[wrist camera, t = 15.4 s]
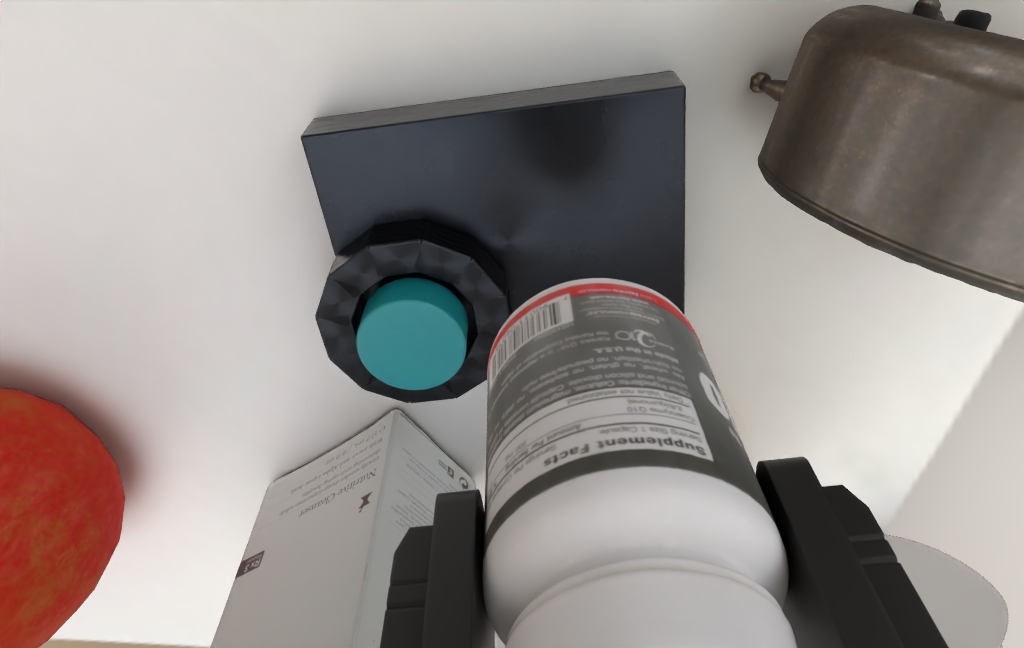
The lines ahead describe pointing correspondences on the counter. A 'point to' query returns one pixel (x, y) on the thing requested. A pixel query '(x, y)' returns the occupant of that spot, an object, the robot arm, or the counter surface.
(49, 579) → the apple
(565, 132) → the black push-button base
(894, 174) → the alarm clock
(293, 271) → the counter surface
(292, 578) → the cosmetic box
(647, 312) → the pill bottle
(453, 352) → the button
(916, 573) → the grey flat curved piece
